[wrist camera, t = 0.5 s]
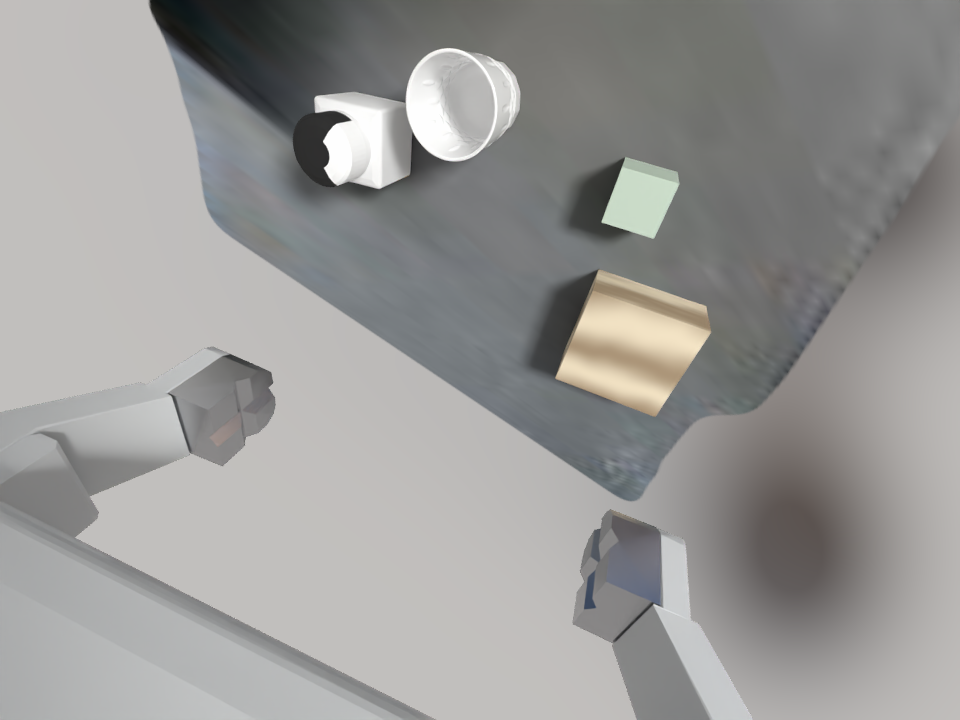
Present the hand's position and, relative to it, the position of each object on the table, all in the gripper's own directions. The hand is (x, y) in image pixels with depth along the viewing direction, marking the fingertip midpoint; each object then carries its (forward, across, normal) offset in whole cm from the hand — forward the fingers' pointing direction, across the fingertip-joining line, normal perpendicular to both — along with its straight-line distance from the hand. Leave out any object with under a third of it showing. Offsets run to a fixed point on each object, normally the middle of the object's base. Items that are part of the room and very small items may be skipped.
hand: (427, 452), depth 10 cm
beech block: (+42, -10, +17) cm, 46 cm away
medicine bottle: (+42, +23, +4) cm, 48 cm away
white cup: (+42, +12, -2) cm, 43 cm away
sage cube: (+42, -5, +2) cm, 42 cm away
